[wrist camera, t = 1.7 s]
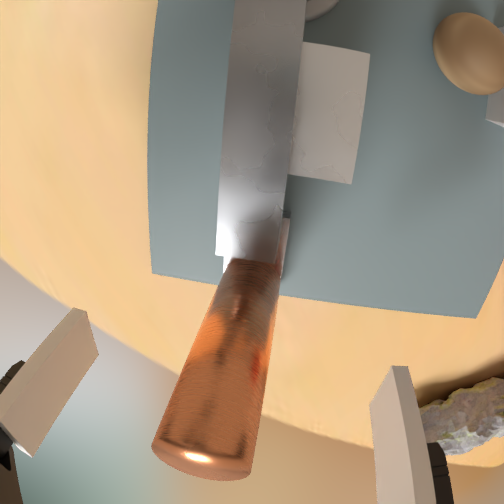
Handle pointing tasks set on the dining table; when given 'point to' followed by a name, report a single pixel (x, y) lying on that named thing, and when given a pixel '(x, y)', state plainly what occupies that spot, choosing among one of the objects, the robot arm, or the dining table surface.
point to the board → (366, 166)
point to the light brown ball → (470, 53)
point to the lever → (259, 223)
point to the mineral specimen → (466, 417)
